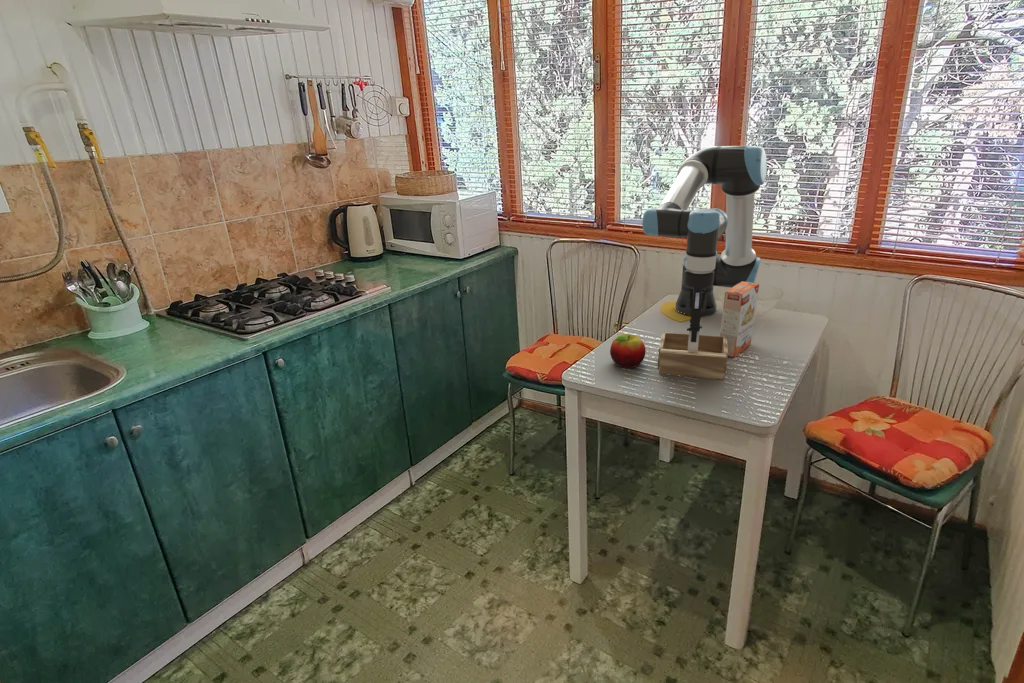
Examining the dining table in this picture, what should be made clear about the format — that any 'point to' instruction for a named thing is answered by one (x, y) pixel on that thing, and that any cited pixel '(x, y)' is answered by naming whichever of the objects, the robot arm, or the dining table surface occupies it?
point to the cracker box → (739, 316)
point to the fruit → (627, 350)
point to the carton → (693, 356)
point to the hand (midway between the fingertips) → (692, 350)
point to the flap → (693, 353)
